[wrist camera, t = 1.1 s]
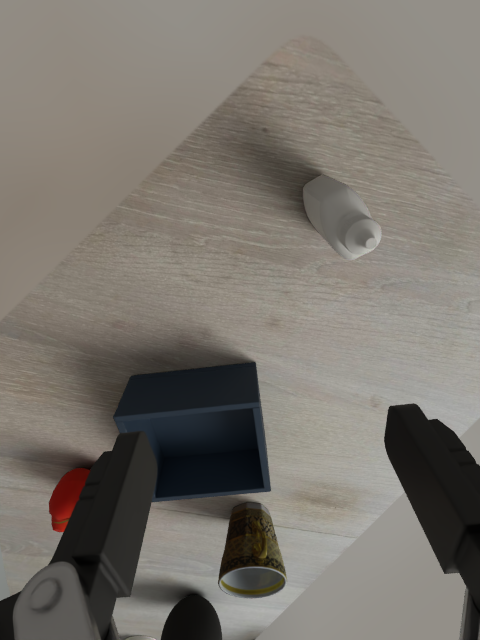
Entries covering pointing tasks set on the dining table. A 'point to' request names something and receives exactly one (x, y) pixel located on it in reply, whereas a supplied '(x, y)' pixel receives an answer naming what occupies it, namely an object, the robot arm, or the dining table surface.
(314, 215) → the eye dropper bottle
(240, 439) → the bin
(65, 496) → the tomato
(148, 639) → the base with upright slab
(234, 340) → the dining table surface
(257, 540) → the ceramic cup
